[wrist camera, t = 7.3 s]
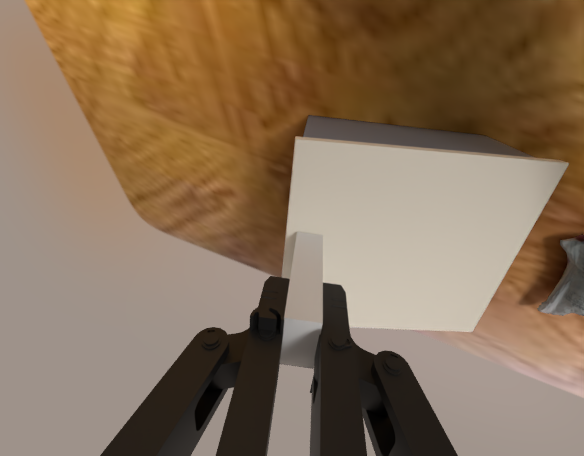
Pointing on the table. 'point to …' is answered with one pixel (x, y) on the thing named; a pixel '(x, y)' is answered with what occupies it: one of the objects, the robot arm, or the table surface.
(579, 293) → the packaged food
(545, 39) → the table surface
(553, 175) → the lid
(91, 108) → the table surface
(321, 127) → the box
